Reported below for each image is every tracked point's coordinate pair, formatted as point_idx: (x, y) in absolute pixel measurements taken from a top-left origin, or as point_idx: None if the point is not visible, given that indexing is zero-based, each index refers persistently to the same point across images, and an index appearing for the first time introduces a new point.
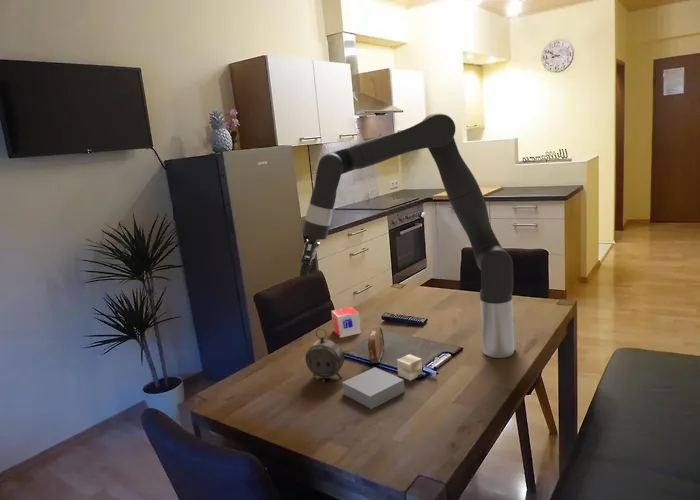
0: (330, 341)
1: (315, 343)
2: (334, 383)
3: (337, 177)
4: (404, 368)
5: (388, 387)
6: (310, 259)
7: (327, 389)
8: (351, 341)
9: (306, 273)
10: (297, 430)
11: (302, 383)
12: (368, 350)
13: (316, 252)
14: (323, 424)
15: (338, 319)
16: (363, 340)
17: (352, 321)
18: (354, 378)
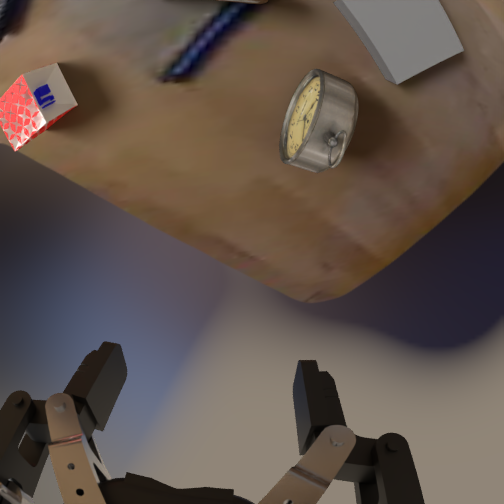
0: (323, 111)
1: (322, 156)
2: None
3: None
4: None
5: (441, 6)
6: (415, 470)
7: None
8: (98, 71)
9: (318, 379)
10: (459, 168)
11: None
12: (263, 1)
13: (85, 454)
14: (462, 131)
15: (49, 119)
16: (96, 43)
17: (36, 87)
18: (388, 55)
